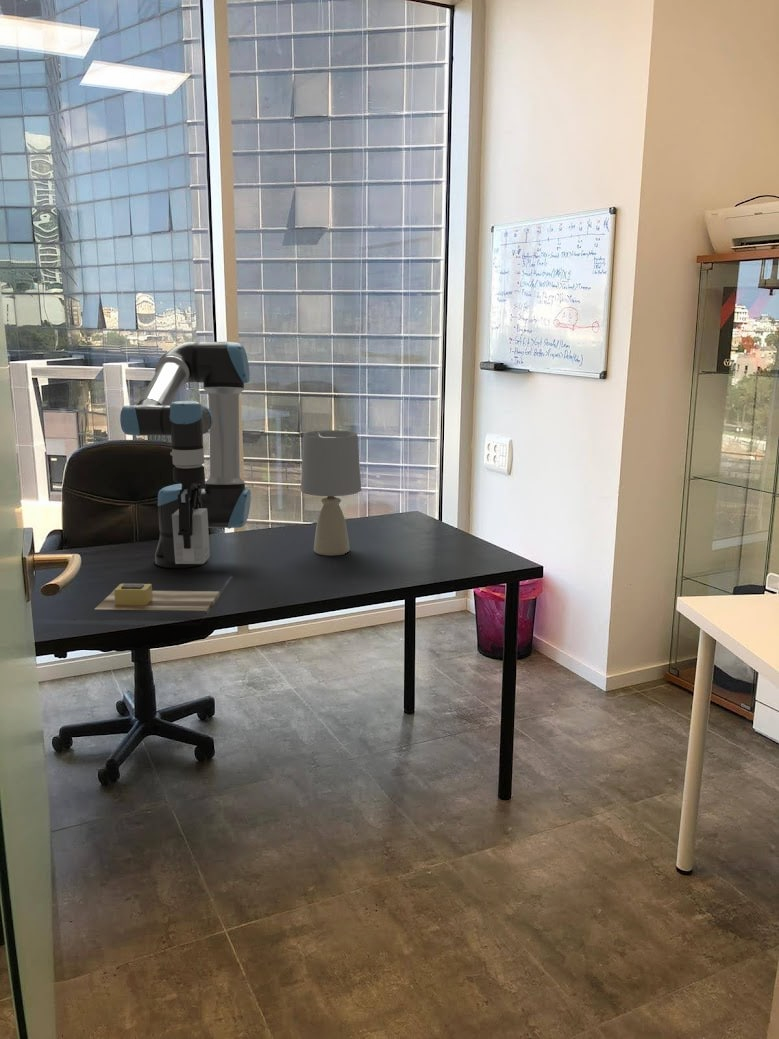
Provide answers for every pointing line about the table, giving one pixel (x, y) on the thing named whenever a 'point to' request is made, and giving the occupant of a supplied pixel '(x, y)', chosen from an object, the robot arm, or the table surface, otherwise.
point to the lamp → (330, 483)
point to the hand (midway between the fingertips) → (192, 555)
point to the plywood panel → (168, 601)
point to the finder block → (133, 594)
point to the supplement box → (199, 534)
